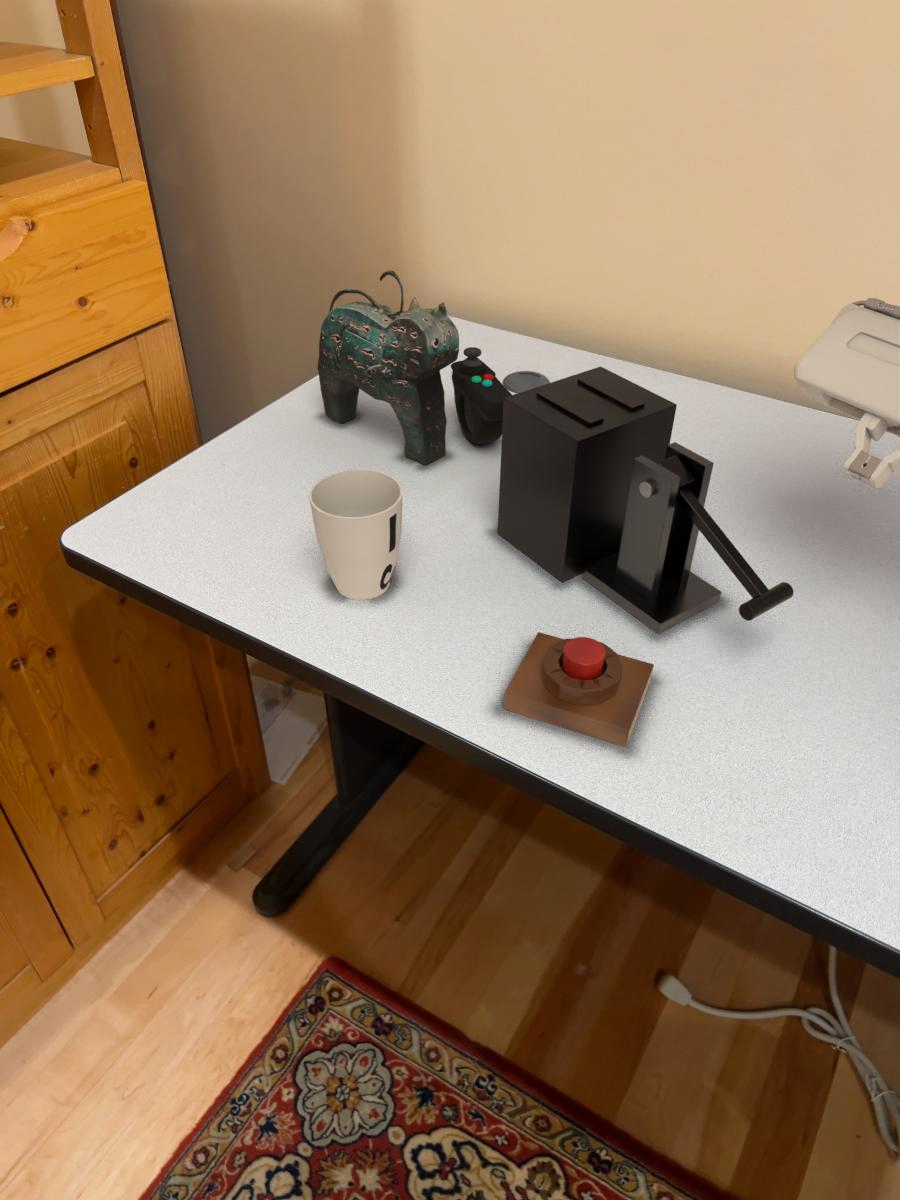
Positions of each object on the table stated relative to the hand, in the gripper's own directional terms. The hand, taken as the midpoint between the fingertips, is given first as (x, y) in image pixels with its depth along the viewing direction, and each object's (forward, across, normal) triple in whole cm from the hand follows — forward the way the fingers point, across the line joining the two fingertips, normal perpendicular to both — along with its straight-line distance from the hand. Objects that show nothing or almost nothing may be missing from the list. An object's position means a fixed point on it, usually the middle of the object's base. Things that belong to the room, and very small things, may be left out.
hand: (859, 478), depth 70 cm
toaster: (+16, -22, +4) cm, 28 cm away
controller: (+13, -44, +8) cm, 46 cm away
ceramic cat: (+20, -51, +1) cm, 55 cm away
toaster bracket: (+16, -12, +5) cm, 21 cm away
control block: (+27, -5, -6) cm, 28 cm away
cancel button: (+25, -5, -8) cm, 27 cm away
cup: (+32, -28, -10) cm, 44 cm away
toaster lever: (+11, -7, -1) cm, 13 cm away
